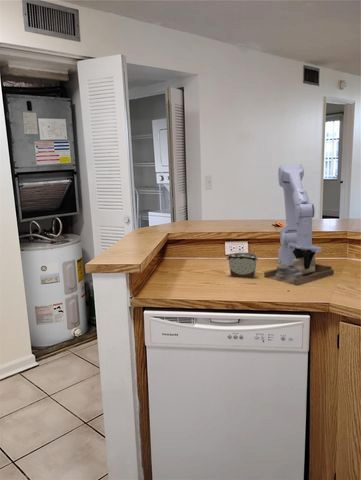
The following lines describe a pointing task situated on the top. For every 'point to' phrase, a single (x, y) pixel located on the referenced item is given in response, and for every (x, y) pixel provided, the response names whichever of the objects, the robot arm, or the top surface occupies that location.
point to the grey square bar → (288, 273)
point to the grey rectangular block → (300, 265)
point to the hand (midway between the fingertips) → (303, 267)
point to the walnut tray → (304, 275)
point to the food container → (242, 265)
